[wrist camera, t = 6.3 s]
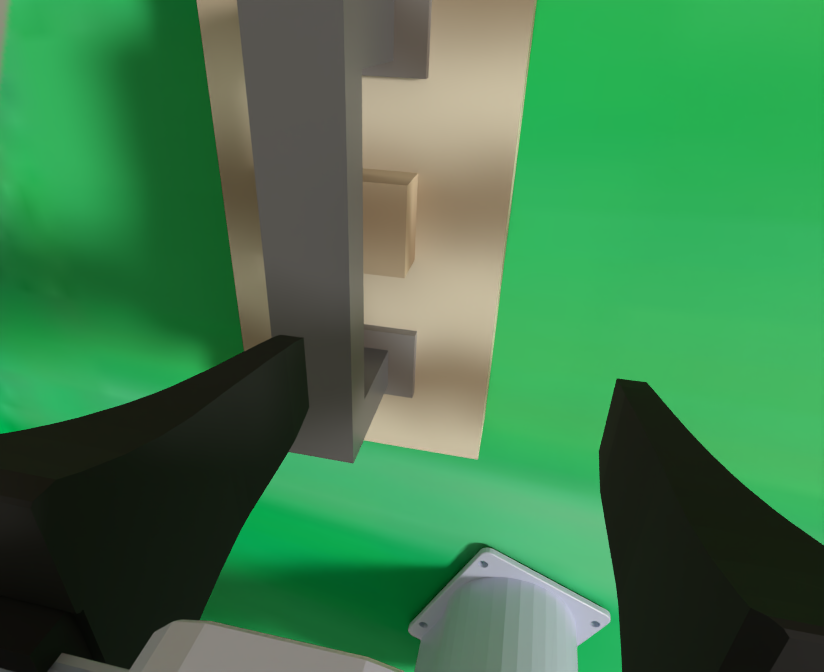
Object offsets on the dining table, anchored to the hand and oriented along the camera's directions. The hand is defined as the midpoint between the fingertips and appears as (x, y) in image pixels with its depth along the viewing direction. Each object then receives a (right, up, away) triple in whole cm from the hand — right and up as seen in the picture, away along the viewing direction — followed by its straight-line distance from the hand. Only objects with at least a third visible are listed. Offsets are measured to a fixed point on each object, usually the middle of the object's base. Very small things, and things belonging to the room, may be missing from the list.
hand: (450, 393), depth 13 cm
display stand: (-2, +7, +9) cm, 11 cm away
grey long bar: (-3, +5, +6) cm, 8 cm away
